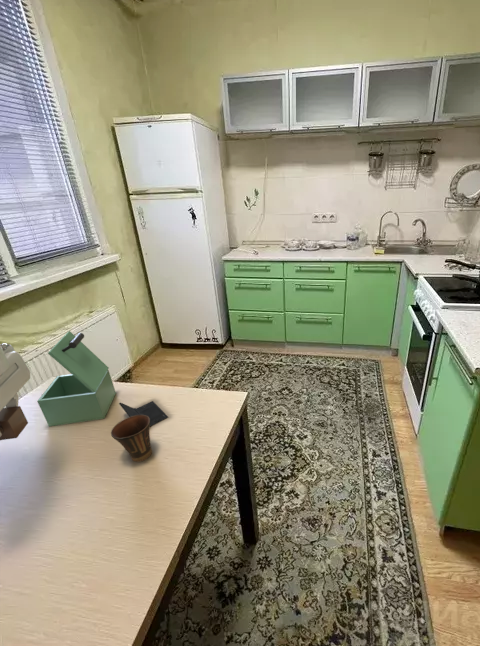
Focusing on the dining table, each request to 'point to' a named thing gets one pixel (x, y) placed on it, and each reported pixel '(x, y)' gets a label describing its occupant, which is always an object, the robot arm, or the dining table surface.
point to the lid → (79, 360)
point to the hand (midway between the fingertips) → (6, 425)
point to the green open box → (75, 400)
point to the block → (12, 422)
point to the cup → (134, 436)
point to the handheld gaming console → (146, 412)
